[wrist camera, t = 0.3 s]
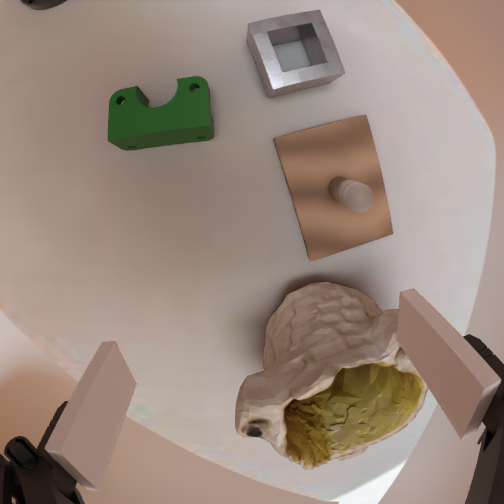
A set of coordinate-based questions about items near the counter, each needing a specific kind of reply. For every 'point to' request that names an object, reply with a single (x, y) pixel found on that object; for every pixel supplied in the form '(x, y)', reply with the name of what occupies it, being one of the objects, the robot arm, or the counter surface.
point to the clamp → (161, 117)
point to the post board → (335, 185)
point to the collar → (287, 30)
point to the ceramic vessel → (329, 378)
